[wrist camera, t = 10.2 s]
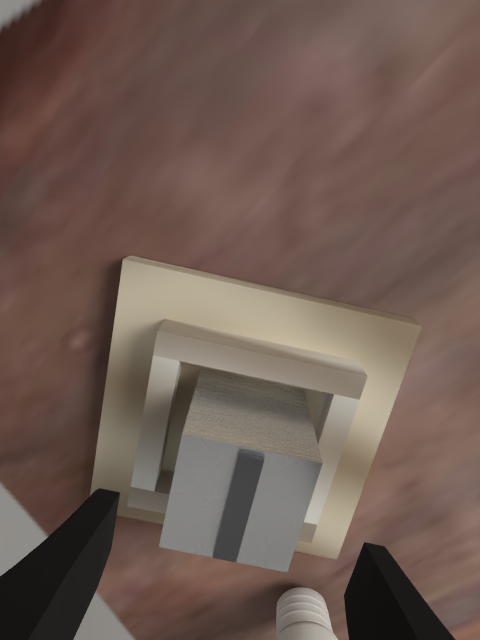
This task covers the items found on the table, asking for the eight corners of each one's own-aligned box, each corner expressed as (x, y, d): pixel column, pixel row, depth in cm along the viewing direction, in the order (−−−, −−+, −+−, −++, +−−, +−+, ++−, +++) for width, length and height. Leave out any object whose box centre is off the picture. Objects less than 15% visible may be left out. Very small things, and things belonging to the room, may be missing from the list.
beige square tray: (333, 542, 22) (343, 587, 19) (95, 494, 21) (75, 534, 19) (413, 318, 18) (437, 338, 16) (130, 255, 18) (110, 266, 15)
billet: (279, 477, 19) (287, 577, 14) (182, 457, 19) (157, 551, 14) (304, 390, 18) (323, 467, 13) (201, 368, 18) (181, 437, 13)
